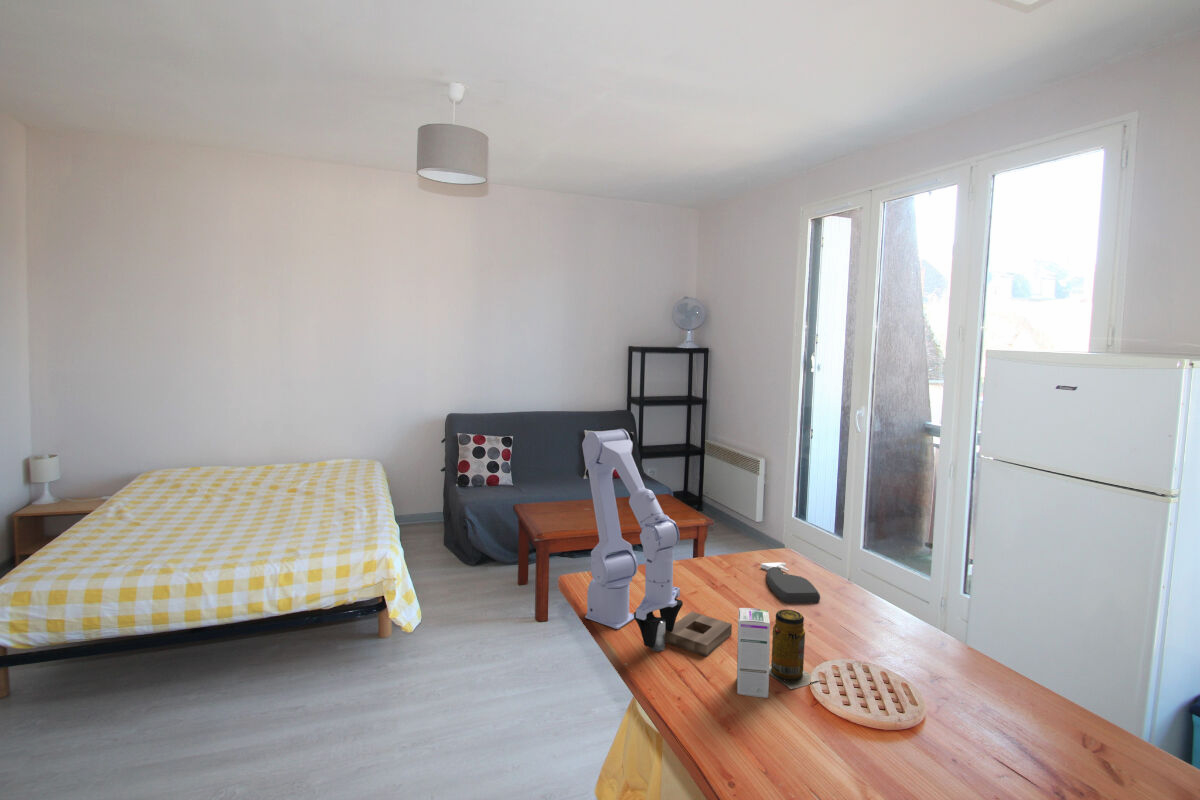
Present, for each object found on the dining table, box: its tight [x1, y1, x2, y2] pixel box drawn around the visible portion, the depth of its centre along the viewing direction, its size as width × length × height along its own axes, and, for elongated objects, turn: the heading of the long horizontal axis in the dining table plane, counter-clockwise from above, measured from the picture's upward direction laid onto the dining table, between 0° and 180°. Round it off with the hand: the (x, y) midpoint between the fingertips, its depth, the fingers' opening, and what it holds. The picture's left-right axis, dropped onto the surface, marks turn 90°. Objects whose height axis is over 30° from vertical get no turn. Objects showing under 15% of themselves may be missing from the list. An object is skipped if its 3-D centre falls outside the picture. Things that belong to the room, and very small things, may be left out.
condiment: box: [769, 609, 812, 690], centre depth 121 cm, size 7×8×12 cm
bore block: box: [665, 611, 733, 658], centre depth 135 cm, size 10×12×2 cm
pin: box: [649, 616, 666, 652], centre depth 131 cm, size 3×3×6 cm
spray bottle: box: [760, 561, 821, 604], centre depth 166 cm, size 3×11×24 cm
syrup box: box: [736, 607, 771, 699], centre depth 116 cm, size 6×6×14 cm
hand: (658, 639), depth 131 cm, fingers open, 6 cm apart
